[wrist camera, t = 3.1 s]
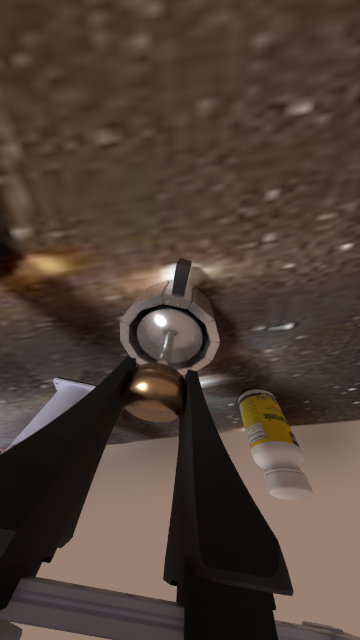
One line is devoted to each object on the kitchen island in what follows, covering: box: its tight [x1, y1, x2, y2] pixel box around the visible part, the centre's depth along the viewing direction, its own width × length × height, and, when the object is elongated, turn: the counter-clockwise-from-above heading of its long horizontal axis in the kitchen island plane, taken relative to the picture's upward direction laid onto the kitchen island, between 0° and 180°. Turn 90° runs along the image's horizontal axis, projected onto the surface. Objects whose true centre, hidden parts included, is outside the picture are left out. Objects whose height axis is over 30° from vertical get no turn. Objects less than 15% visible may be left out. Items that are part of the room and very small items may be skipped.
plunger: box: [121, 307, 202, 422], centre depth 11 cm, size 6×6×7 cm
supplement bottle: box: [238, 389, 314, 500], centre depth 18 cm, size 5×5×10 cm
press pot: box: [120, 258, 220, 375], centre depth 14 cm, size 11×9×4 cm
